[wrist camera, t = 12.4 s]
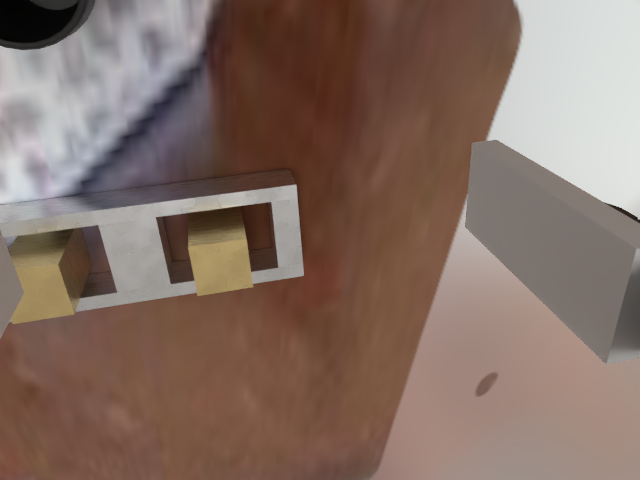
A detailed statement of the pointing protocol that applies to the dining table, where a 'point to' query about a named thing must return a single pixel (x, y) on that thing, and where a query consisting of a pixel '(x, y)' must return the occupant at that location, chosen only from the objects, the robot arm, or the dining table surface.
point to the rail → (163, 232)
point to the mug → (40, 21)
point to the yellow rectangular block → (219, 250)
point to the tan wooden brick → (50, 273)
